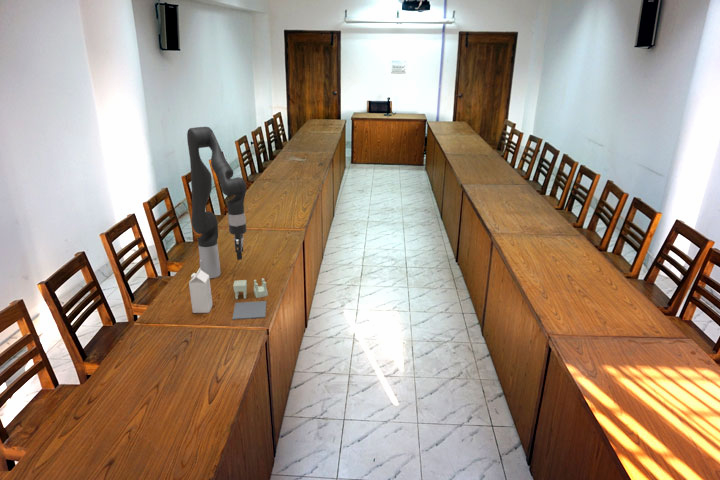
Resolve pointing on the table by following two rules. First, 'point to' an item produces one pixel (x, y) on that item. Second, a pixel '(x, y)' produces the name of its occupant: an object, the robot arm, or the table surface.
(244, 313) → the mat
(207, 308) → the milk carton
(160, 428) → the table surface
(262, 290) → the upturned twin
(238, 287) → the cube with twin tabs
